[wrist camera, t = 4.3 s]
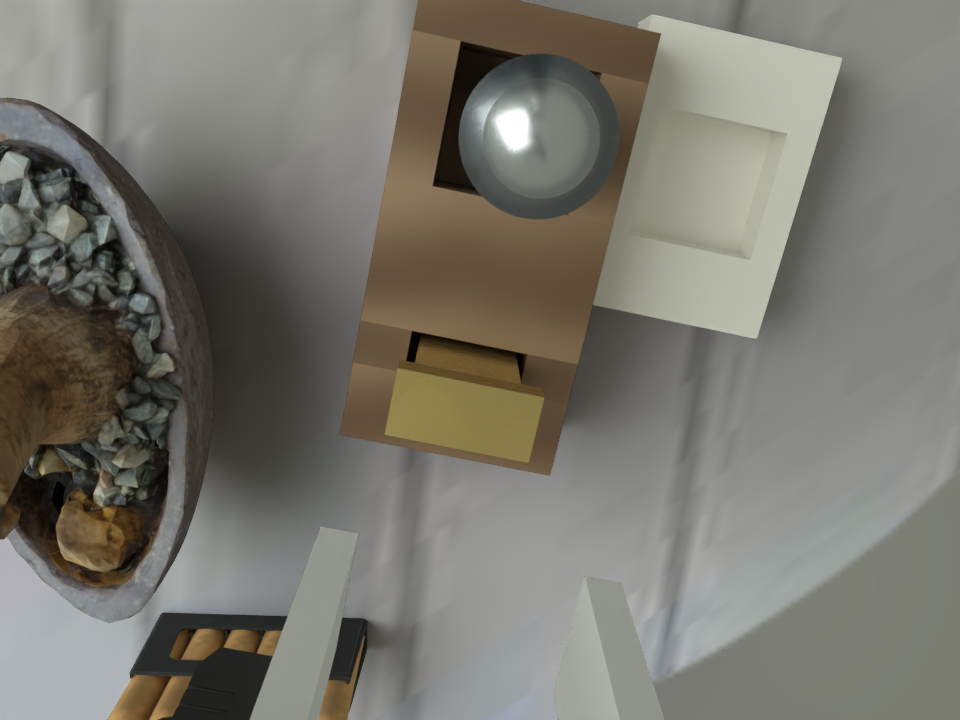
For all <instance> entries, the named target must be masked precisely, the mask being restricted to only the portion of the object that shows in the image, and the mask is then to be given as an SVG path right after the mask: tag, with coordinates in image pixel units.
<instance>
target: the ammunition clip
mask: <svg viewBox="0 0 960 720" xmlns="http://www.w3.org/2000/svg"><path fill="white" fill-rule="evenodd" d="M287 617H288V616H258V615H223V614H188V613H162V614H161V615H160V617H159V619H158V621H157V623H156V624H155V626H154V628H153V630H152V632H151V634H150V636H149V638H148V639H147V641H146V643H145V645H144V647H143V649H142V651H141V652H140V654H139V656H138V658H137V660H136V662H135V664H134V666H133V667H132V669H131V671H130V678H132V679H131V681H130V683H129V684H128V686H127V688H126V689H125V691H124V693H123V694H122V696H121V698H120V699H119V701H118V703H117V704H116V706H115V708H114V709H113V711H112V713H111V714H110V716H109V718H108V720H158V719H161V718H164V717H172V716H173V714H174V712H175V710H176V708H177V707H178V706H179V702H180V700H181V698H182V696H183V694H184V692H185V690H186V689H187V688H188V684H189V682H190V680H191V678H192V676H193V674H194V672H195V670H196V668H197V666H198V664H199V663H200V662H201V661H203V660H204V659H205V658H207V657H208V656H209V655H211V654H212V653H213V652H215V651H216V650H217V649H218V648H220V647H224V648H230V649H235V650H241V651H246V652H252V653H258V654H263V655H269V656H273V655H274V652H275V649H276V647H277V644H278V641H279V638H280V636H281V633H282V630H283V628H284V625H285V622H286V619H287ZM366 651H367V621H366V620H365V619H363V618H342V621H341V626H340V631H339V636H338V642H337V647H336V652H335V656H334V659H333V663H332V667H331V671H330V675H329V679H328V683H327V687H326V691H325V695H324V699H323V703H322V707H321V710H320V714H319V718H318V720H347V718H348V713H349V711H350V707H351V704H352V700H353V697H354V693H355V690H356V686H357V683H358V679H359V676H360V672H361V669H362V665H363V662H364V658H365V655H366Z"/></svg>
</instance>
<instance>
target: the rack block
mask: <svg viewBox="0 0 960 720" xmlns="http://www.w3.org/2000/svg"><path fill="white" fill-rule="evenodd" d="M637 28H639V29H644V30H648V31H652V32H657V33H661V37H660V41H659V45H658V49H657V53H656V57H655V61H654V65H653V68H652V72H651V76H650V80H649V84H648V88H647V92H646V96H645V100H644V104H643V108H642V112H641V116H640V120H639V124H638V128H637V132H636V136H635V140H634V144H633V148H632V152H631V156H630V160H629V164H628V168H627V172H626V176H625V180H624V184H623V188H622V192H621V196H620V199H619V203H618V207H617V211H616V215H615V219H614V223H613V227H612V231H611V235H610V239H609V243H608V247H607V251H606V255H605V259H604V263H603V267H602V271H601V275H600V279H599V283H598V287H597V291H596V295H595V299H594V303H593V305H596V306H601V307H605V308H610V309H615V310H620V311H625V312H629V313H634V314H639V315H644V316H649V317H653V318H658V319H663V320H668V321H673V322H677V323H682V324H687V325H692V326H697V327H701V328H706V329H711V330H716V331H721V332H725V333H730V334H735V335H740V336H745V337H749V338H754V339H757V337H758V334H759V331H760V327H761V324H762V321H763V317H764V314H765V311H766V308H767V304H768V301H769V298H770V295H771V291H772V288H773V285H774V281H775V278H776V275H777V272H778V268H779V265H780V262H781V259H782V255H783V252H784V249H785V246H786V242H787V239H788V236H789V232H790V229H791V226H792V223H793V219H794V216H795V213H796V210H797V206H798V203H799V200H800V196H801V193H802V190H803V187H804V183H805V180H806V177H807V174H808V170H809V167H810V164H811V161H812V157H813V154H814V151H815V147H816V144H817V141H818V138H819V134H820V131H821V128H822V125H823V121H824V118H825V115H826V112H827V108H828V105H829V102H830V98H831V95H832V92H833V89H834V85H835V82H836V79H837V76H838V72H839V69H840V66H841V62H842V59H843V58H839V57H835V56H831V55H826V54H822V53H818V52H814V51H809V50H805V49H801V48H796V47H792V46H788V45H783V44H779V43H775V42H770V41H766V40H762V39H757V38H753V37H749V36H744V35H740V34H736V33H731V32H727V31H723V30H718V29H714V28H710V27H705V26H701V25H697V24H692V23H688V22H684V21H679V20H675V19H671V18H666V17H662V16H658V15H653V14H652V15H650V16H648V17H646V18H645V19H643V20H641V21H639V22H638V26H637Z"/></svg>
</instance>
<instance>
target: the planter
mask: <svg viewBox="0 0 960 720" xmlns="http://www.w3.org/2000/svg"><path fill="white" fill-rule="evenodd" d="M213 402H214V385H213V363H212V352H211V344H210V337H209V331H208V325H207V322H206V318H205V314H204V309H203V304H202V301H201V298H200V296H199V293H198V290H197V287H196V284H195V281H194V278H193V275H192V272H191V270H190V268H189V265H188V263H187V261H186V259H185V257H184V255H183V252H182V250H181V248H180V246H179V244H178V242H177V240H176V238H175V237H174V235H173V233H172V232H171V230H170V228H169V226H168V225H167V223H166V222H165V221H164V219H163V218H162V216H161V214H160V213H159V211H158V210H157V208H156V207H155V205H154V204H153V203H152V201H151V200H150V199H149V198H148V196H147V195H146V194H145V193H144V191H143V190H142V189H141V187H140V186H139V185H138V184H137V182H136V181H135V180H134V179H133V177H132V176H131V175H130V174H129V173H128V172H127V171H126V170H125V169H124V167H123V166H122V165H121V164H120V163H119V162H118V161H117V160H115V159H114V158H113V157H112V156H111V155H110V154H109V153H108V152H107V151H106V150H105V149H104V148H103V147H102V146H101V145H100V144H99V143H97V142H96V141H95V140H94V139H93V138H91V137H90V136H89V135H88V134H87V133H85V132H84V131H83V130H81V129H80V128H78V127H77V126H76V125H74V124H73V123H71V122H69V121H68V120H66V119H65V118H63V117H61V116H60V115H58V114H56V113H55V112H53V111H51V110H49V109H47V108H46V107H44V106H42V105H40V104H37V103H34V102H31V101H28V100H22V99H14V98H1V99H0V539H5V538H6V537H7V538H8V539H9V540H10V541H11V543H12V545H13V547H14V548H15V550H16V552H17V553H18V554H19V555H20V556H21V557H22V558H23V559H25V560H26V562H27V563H28V564H29V565H30V566H31V567H32V569H33V570H34V571H35V572H36V573H37V575H38V576H39V577H40V578H41V579H42V580H43V581H44V582H45V583H46V584H48V585H49V586H50V587H52V588H53V589H54V590H55V591H56V592H58V593H59V594H60V595H61V596H62V597H63V598H65V599H66V600H67V601H68V602H69V603H70V604H72V605H73V606H74V607H76V608H77V609H79V610H81V611H82V612H84V613H86V614H88V615H90V616H92V617H94V618H97V619H100V620H102V621H105V622H108V623H111V622H115V621H118V620H122V619H126V618H130V617H132V616H133V615H135V614H137V613H138V612H140V611H141V610H142V609H143V607H144V606H145V605H146V604H147V602H148V601H149V600H150V598H151V597H152V596H153V594H154V593H155V591H156V590H157V588H158V587H159V585H160V584H161V582H162V580H163V579H164V577H165V575H166V574H167V572H168V570H169V569H170V567H171V565H172V564H173V562H174V560H175V558H176V556H177V554H178V552H179V550H180V548H181V546H182V544H183V542H184V539H185V537H186V534H187V532H188V529H189V526H190V523H191V520H192V518H193V515H194V512H195V508H196V505H197V501H198V498H199V494H200V490H201V486H202V483H203V478H204V474H205V469H206V464H207V459H208V452H209V445H210V438H211V431H212V425H213Z"/></svg>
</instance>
